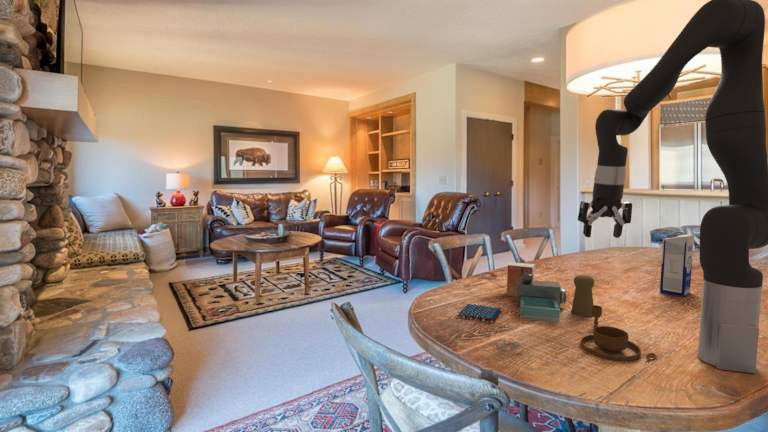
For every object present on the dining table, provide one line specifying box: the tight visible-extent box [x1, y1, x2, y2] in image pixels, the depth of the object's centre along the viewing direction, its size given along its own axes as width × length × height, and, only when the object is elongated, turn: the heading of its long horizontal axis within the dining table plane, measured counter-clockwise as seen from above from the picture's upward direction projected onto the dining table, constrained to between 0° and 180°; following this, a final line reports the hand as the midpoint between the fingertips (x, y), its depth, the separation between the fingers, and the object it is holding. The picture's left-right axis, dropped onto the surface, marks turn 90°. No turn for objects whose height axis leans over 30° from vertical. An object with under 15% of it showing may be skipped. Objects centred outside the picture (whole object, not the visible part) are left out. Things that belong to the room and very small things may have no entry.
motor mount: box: [516, 273, 567, 324], centre depth 116 cm, size 16×14×10 cm
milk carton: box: [659, 232, 695, 297], centre depth 132 cm, size 7×7×20 cm
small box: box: [506, 261, 536, 298], centre depth 131 cm, size 8×6×10 cm
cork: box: [570, 274, 595, 318], centre depth 114 cm, size 6×6×11 cm
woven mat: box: [457, 303, 503, 324], centre depth 114 cm, size 10×11×2 cm
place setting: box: [577, 304, 658, 364], centre depth 93 cm, size 18×20×6 cm
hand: (601, 237), depth 116 cm, fingers open, 8 cm apart
